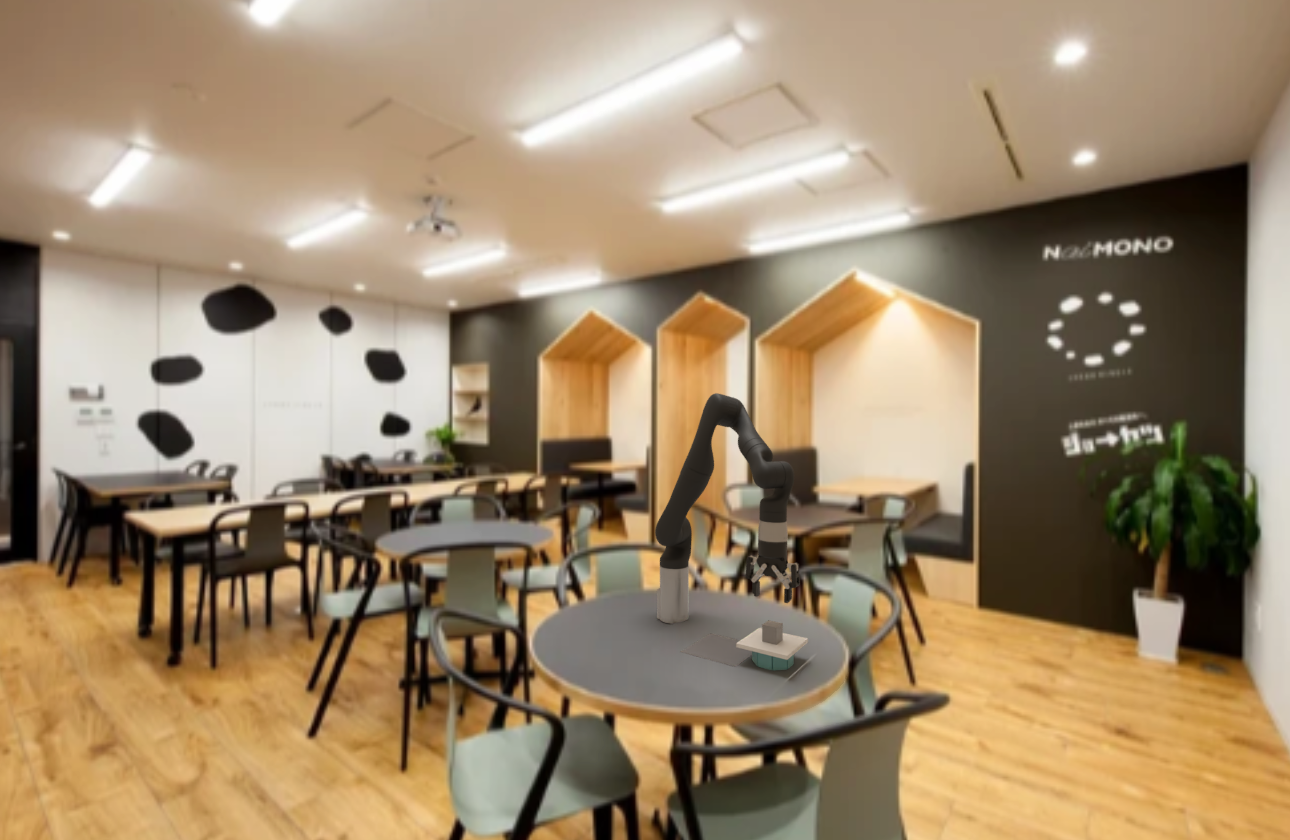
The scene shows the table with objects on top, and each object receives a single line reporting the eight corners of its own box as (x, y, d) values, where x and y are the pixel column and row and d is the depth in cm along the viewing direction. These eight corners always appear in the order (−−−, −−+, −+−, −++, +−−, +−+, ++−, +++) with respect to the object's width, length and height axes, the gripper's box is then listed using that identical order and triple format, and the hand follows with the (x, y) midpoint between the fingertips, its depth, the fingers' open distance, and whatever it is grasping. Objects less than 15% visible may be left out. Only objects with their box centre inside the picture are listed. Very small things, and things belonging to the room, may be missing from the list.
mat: (679, 653, 167) (679, 651, 167) (710, 634, 181) (710, 633, 181) (735, 668, 157) (735, 666, 157) (763, 647, 171) (763, 646, 171)
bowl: (746, 665, 159) (746, 646, 159) (763, 653, 167) (763, 634, 167) (783, 675, 153) (783, 655, 153) (798, 661, 161) (798, 643, 161)
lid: (736, 647, 159) (736, 626, 158) (759, 631, 170) (759, 611, 170) (787, 659, 150) (787, 637, 150) (807, 642, 162) (807, 621, 162)
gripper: (741, 536, 161) (740, 597, 161) (792, 544, 152) (791, 608, 152) (754, 531, 167) (753, 590, 167) (804, 538, 158) (803, 600, 159)
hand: (771, 599), depth 160 cm, fingers open, 8 cm apart
